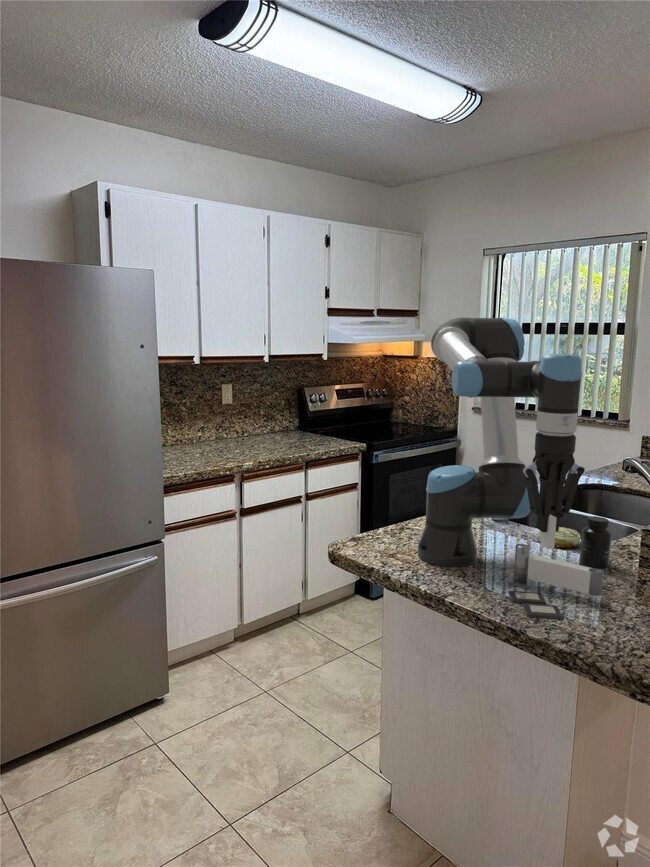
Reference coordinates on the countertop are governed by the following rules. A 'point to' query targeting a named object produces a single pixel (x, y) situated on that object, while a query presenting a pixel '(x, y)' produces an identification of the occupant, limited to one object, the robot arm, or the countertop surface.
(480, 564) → the countertop surface
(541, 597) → the label plate
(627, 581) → the countertop surface
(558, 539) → the decorated donut
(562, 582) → the swing bar
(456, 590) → the countertop surface
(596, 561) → the supplement bottle
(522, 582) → the pivot post
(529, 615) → the label plate
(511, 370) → the robot arm
